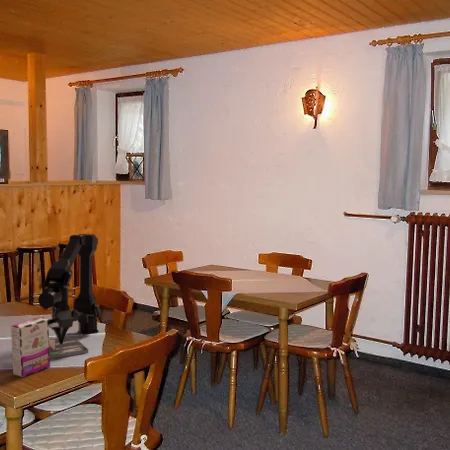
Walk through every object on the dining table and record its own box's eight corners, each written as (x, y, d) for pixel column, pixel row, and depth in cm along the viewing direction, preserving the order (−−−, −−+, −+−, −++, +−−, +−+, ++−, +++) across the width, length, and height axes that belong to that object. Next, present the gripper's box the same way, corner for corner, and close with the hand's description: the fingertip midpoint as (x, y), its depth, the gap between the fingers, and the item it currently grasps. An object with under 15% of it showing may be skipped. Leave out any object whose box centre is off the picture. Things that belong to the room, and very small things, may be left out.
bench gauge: (76, 342, 205) (76, 329, 204) (88, 352, 194) (88, 338, 194) (24, 351, 195) (24, 337, 194) (33, 362, 184) (33, 347, 183)
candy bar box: (40, 364, 182) (39, 316, 181) (50, 367, 180) (49, 319, 178) (11, 374, 173) (10, 324, 171) (21, 378, 170) (20, 327, 168)
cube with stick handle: (52, 347, 195) (51, 336, 195) (58, 353, 189) (57, 342, 189) (40, 349, 193) (40, 338, 193) (46, 355, 187) (46, 344, 186)
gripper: (38, 310, 182) (40, 355, 183) (93, 303, 192) (93, 345, 193) (30, 302, 191) (32, 345, 193) (82, 296, 201) (83, 337, 203)
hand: (60, 343), depth 195 cm, fingers closed
